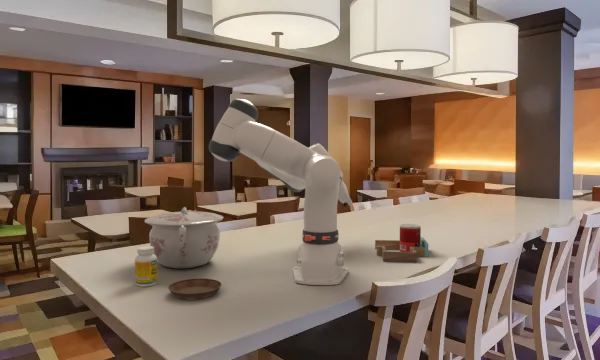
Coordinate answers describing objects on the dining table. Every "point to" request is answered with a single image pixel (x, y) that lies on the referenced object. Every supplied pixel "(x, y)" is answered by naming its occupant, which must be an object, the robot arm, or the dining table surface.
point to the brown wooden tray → (395, 247)
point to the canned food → (409, 236)
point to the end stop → (424, 245)
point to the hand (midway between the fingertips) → (351, 204)
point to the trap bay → (399, 256)
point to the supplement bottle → (146, 267)
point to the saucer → (194, 288)
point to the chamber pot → (184, 238)
